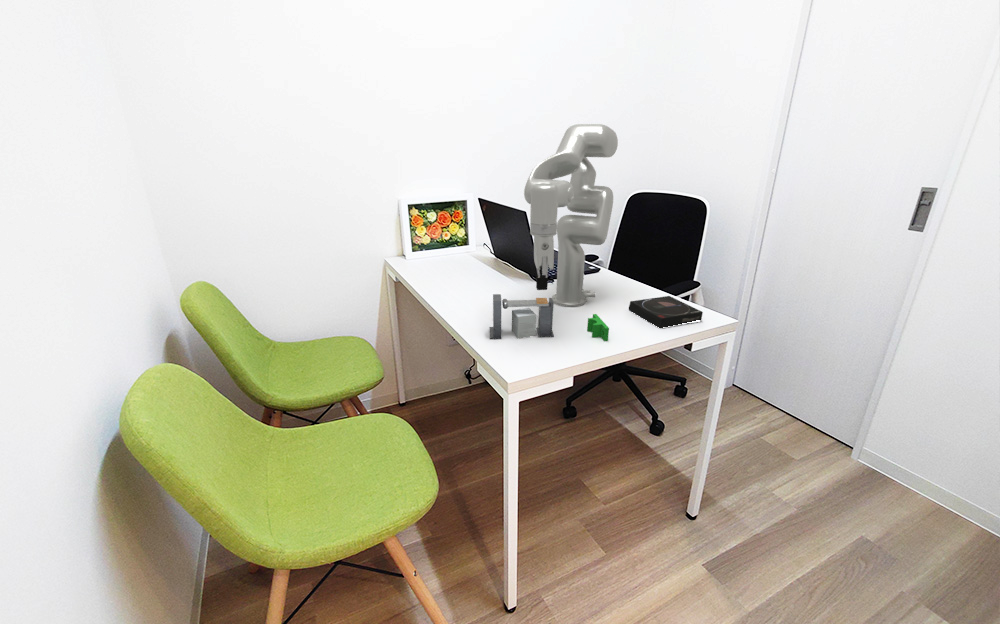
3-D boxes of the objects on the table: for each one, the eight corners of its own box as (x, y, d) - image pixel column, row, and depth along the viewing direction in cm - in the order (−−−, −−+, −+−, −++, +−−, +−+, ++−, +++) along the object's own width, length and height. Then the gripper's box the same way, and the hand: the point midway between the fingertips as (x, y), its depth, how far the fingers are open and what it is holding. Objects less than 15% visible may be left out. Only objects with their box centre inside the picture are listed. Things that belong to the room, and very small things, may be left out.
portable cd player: (666, 305, 162) (667, 295, 160) (700, 323, 147) (702, 312, 145) (628, 311, 157) (629, 300, 155) (659, 330, 142) (661, 318, 140)
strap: (546, 302, 137) (547, 297, 136) (548, 308, 133) (548, 302, 132) (502, 303, 137) (502, 298, 136) (502, 308, 133) (502, 303, 132)
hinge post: (500, 328, 142) (500, 293, 137) (501, 339, 134) (501, 302, 130) (489, 328, 142) (489, 293, 137) (489, 339, 134) (489, 302, 130)
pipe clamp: (583, 327, 143) (584, 314, 141) (595, 326, 144) (596, 313, 142) (595, 342, 133) (597, 328, 131) (607, 341, 133) (609, 327, 132)
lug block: (551, 329, 141) (552, 296, 137) (553, 337, 136) (555, 303, 132) (536, 329, 141) (537, 296, 137) (538, 337, 136) (539, 303, 132)
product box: (511, 331, 140) (511, 309, 137) (529, 328, 142) (529, 307, 139) (517, 339, 135) (517, 316, 132) (536, 336, 136) (536, 314, 134)
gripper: (560, 234, 119) (557, 298, 127) (552, 222, 133) (550, 280, 140) (532, 235, 119) (531, 298, 127) (528, 223, 133) (527, 281, 140)
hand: (541, 288), depth 133 cm, fingers closed
